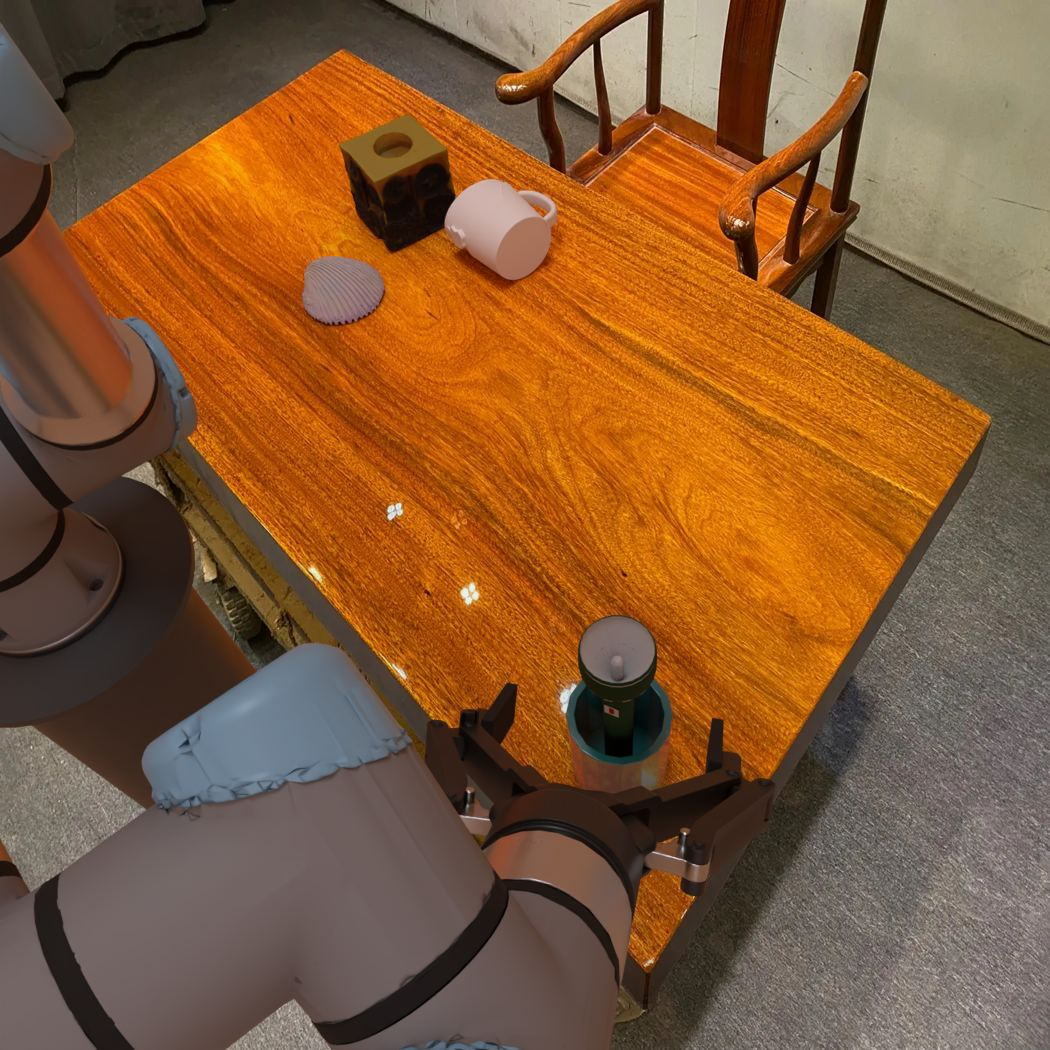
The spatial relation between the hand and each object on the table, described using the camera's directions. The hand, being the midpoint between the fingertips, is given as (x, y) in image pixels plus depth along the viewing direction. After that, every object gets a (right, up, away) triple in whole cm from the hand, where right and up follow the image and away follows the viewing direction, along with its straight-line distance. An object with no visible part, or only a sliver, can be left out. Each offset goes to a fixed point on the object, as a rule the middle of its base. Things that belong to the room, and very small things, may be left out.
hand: (610, 719), depth 61 cm
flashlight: (+2, -6, +14) cm, 16 cm away
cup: (+2, -6, +14) cm, 16 cm away
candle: (-21, +52, +57) cm, 79 cm away
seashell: (-27, +40, +50) cm, 69 cm away
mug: (-7, +46, +51) cm, 69 cm away
